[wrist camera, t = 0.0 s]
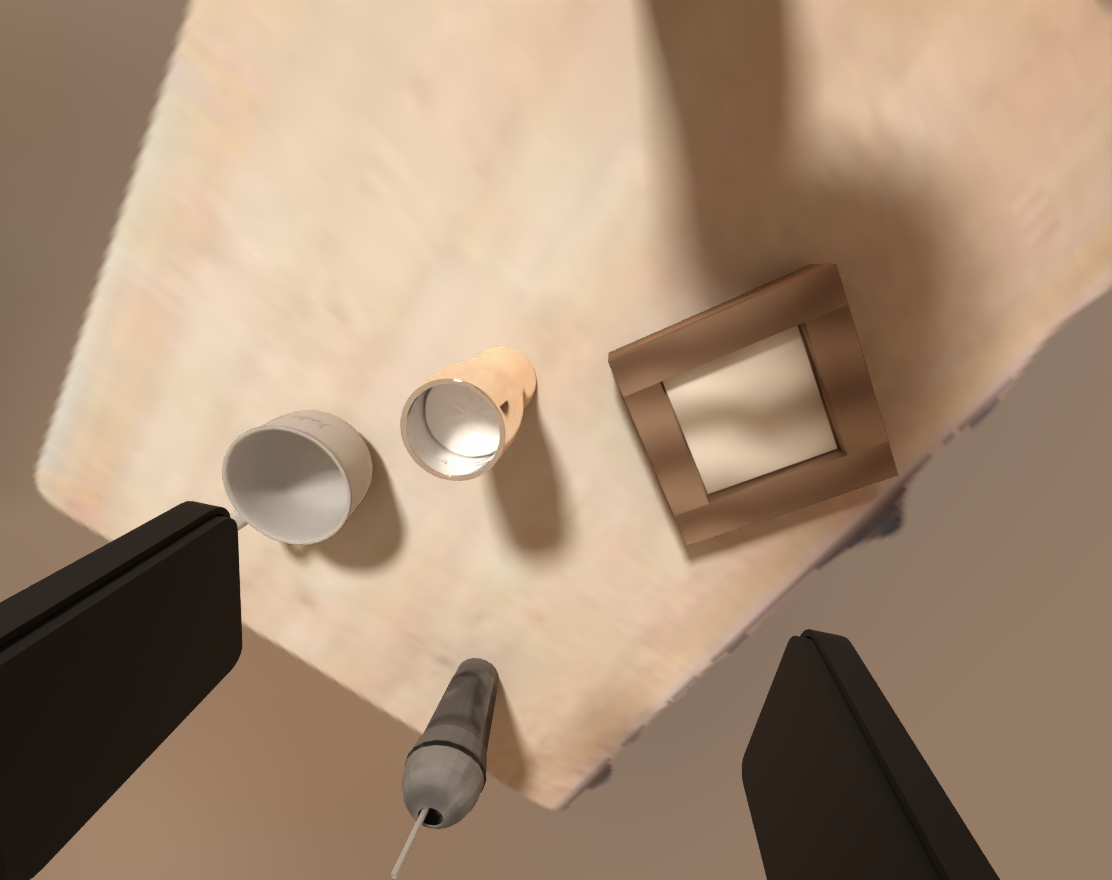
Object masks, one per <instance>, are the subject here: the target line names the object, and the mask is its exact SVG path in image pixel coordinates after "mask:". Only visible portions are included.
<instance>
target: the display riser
mask: <svg viewBox="0 0 1112 880" xmlns="http://www.w3.org/2000/svg"><path fill="white" fill-rule="evenodd" d="M608 363H609V365H610V367H611V370H612V372H613V374H614V377H615V379H616V381H617V384H618V386H619V388H620V391H621V393H622V395H623V398H624V400H625V402H626V405H627V407H628V409H629V412H630V414H631V416H632V419H633V421H634V423H635V426H636V428H637V430H638V433H639V435H640V437H641V440H642V442H643V444H644V447H645V449H646V451H647V454H648V456H649V458H650V461H651V463H652V465H653V468H654V470H655V472H656V475H657V477H658V479H659V482H660V484H661V486H662V489H663V491H664V493H665V496H666V498H667V500H668V503H669V505H670V507H671V510H672V512H673V515H674V517H675V519H676V522H677V524H678V526H679V529H680V531H681V533H682V536H683V538H684V540H685V543H686V545H687V546H688V545H691V544H694V543H697V542H700V541H703V540H706V539H709V538H712V537H715V536H718V535H721V534H724V533H727V532H730V531H733V530H736V529H739V528H742V527H745V526H748V525H751V524H754V523H757V522H760V521H763V520H766V519H769V518H772V517H775V516H777V515H780V514H783V513H786V512H789V511H792V510H795V509H798V508H801V507H804V506H807V505H810V504H813V503H816V502H819V501H822V500H825V499H828V498H831V497H834V496H837V495H840V494H843V493H846V492H849V491H852V490H855V489H858V488H861V487H864V486H867V485H870V484H873V483H876V482H879V481H882V480H885V479H888V478H891V477H894V476H897V475H898V472H897V469H896V466H895V462H894V459H893V455H892V452H891V449H890V445H889V442H888V439H887V435H886V432H885V428H884V425H883V422H882V418H881V415H880V411H879V408H878V405H877V401H876V398H875V394H874V391H873V388H872V384H871V381H870V378H869V374H868V371H867V367H866V364H865V361H864V357H863V354H862V350H861V347H860V344H859V340H858V337H857V333H856V330H855V327H854V323H853V320H852V317H851V313H850V310H849V306H848V303H847V300H846V296H845V293H844V289H843V286H842V283H841V279H840V276H839V272H838V269H837V266H836V264H812V265H809V266H807V267H805V268H803V269H800V270H798V271H796V272H793V273H791V274H789V275H786V276H784V277H782V278H780V279H777V280H775V281H773V282H770V283H768V284H766V285H764V286H761V287H759V288H757V289H754V290H752V291H750V292H747V293H745V294H743V295H741V296H738V297H736V298H734V299H731V300H729V301H727V302H724V303H722V304H720V305H718V306H715V307H713V308H711V309H708V310H706V311H704V312H701V313H699V314H697V315H695V316H692V317H690V318H688V319H685V320H683V321H681V322H678V323H676V324H674V325H672V326H669V327H667V328H665V329H662V330H660V331H658V332H655V333H653V334H651V335H649V336H646V337H644V338H642V339H639V340H637V341H635V342H632V343H630V344H628V345H626V346H623V347H621V348H619V349H616V350H614V351H612V352H610V353H609V358H608Z"/></svg>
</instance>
